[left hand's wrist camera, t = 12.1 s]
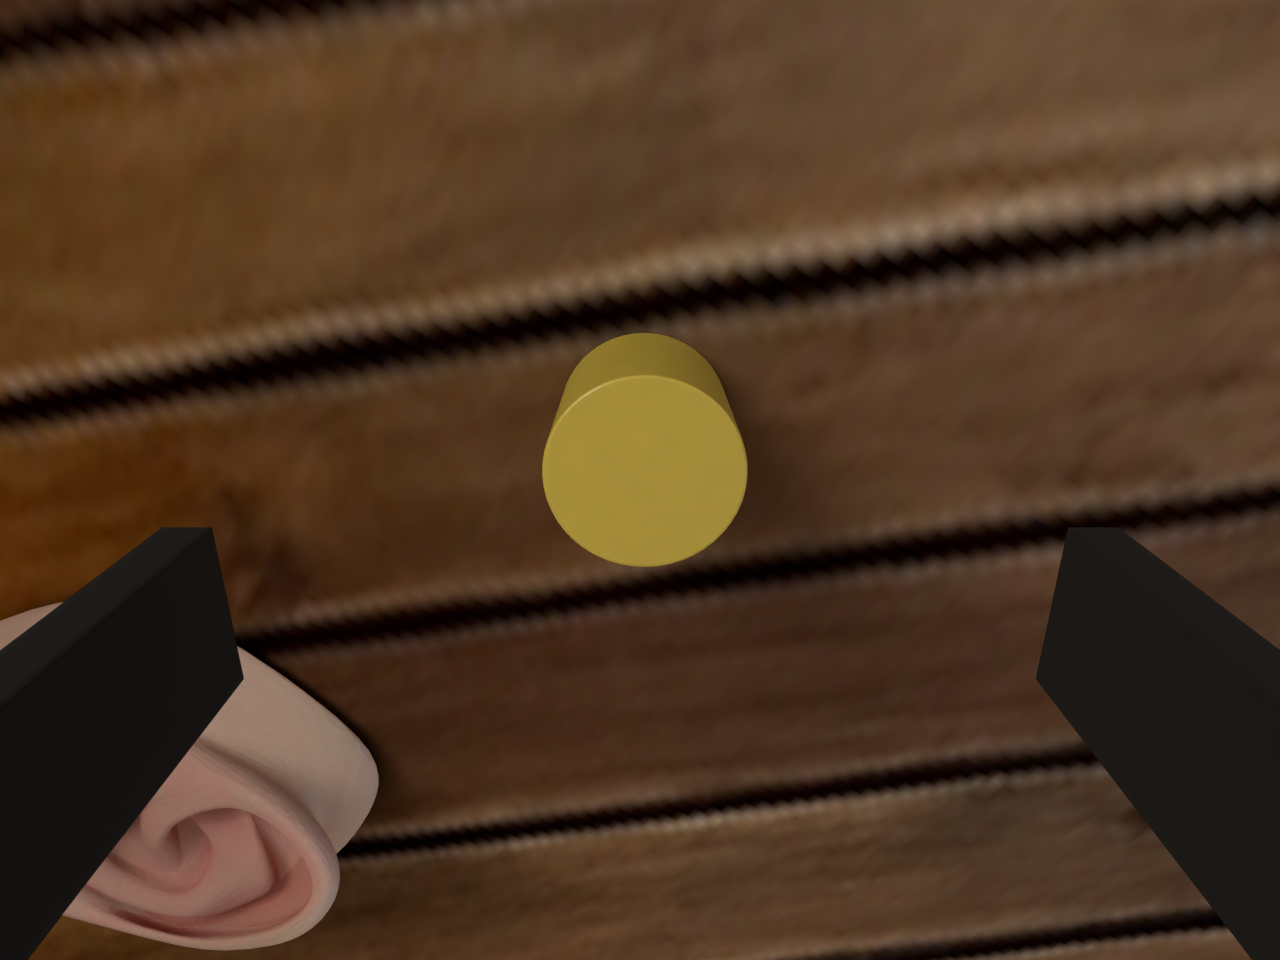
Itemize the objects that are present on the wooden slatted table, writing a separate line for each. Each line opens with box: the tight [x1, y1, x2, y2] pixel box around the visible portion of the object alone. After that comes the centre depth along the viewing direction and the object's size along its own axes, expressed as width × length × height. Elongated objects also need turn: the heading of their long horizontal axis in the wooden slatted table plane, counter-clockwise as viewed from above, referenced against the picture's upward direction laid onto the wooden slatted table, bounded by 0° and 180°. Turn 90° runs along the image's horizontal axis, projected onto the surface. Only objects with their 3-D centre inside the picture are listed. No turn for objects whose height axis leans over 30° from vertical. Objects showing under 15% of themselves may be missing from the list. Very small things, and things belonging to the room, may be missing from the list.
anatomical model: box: [0, 602, 379, 950], centre depth 25 cm, size 13×4×12 cm
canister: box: [542, 333, 748, 567], centre depth 20 cm, size 5×5×5 cm
